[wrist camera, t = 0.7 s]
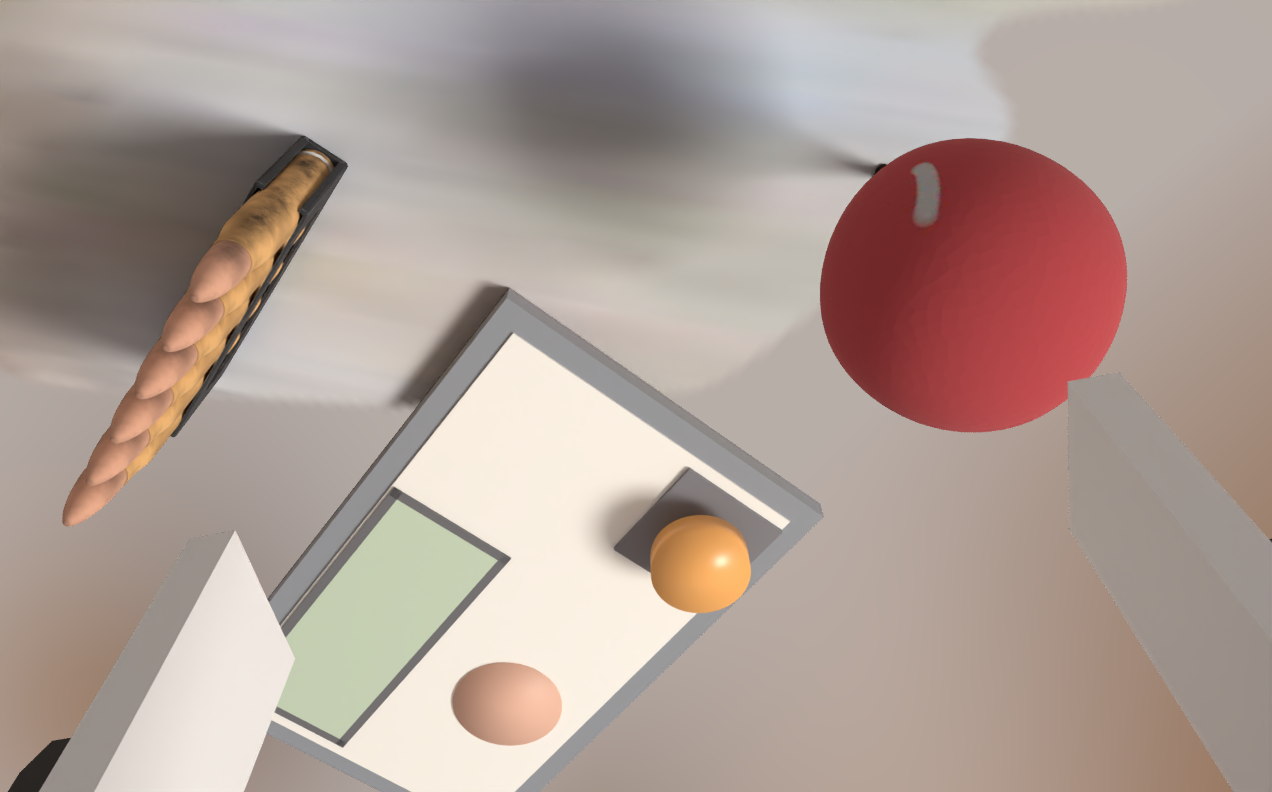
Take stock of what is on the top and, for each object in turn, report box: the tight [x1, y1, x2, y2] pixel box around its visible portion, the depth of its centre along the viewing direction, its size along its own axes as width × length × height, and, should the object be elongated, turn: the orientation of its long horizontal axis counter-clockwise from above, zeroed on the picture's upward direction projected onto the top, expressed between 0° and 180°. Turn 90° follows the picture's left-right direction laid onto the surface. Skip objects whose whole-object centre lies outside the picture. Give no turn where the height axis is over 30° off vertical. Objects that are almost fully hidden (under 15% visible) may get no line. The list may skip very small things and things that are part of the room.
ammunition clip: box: [63, 136, 348, 526], centre depth 35 cm, size 11×2×12 cm, turn 144°
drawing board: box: [267, 288, 824, 792], centre depth 47 cm, size 16×25×1 cm, turn 142°
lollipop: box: [820, 138, 1127, 432], centre depth 32 cm, size 8×8×15 cm
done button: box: [650, 515, 751, 613], centre depth 43 cm, size 4×4×1 cm
